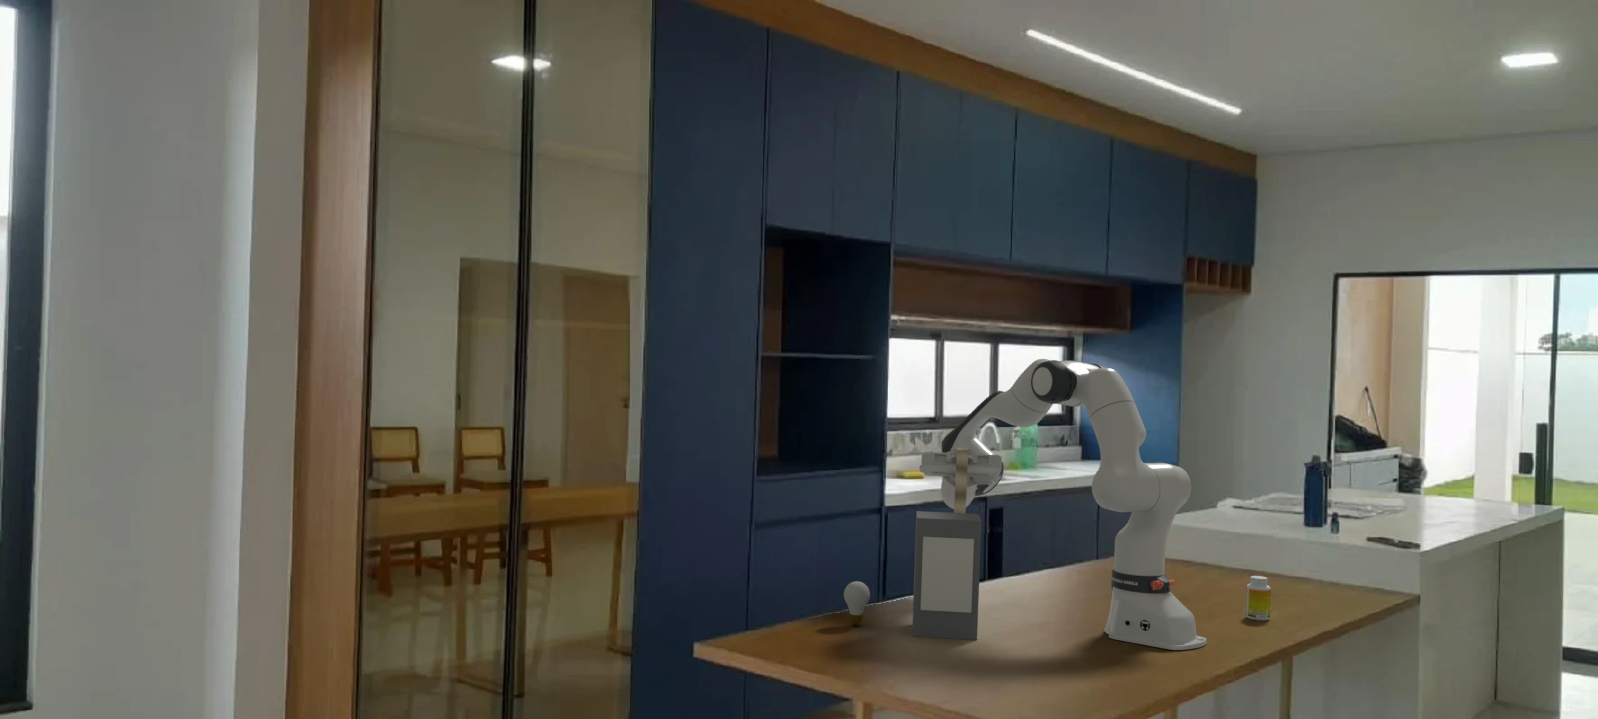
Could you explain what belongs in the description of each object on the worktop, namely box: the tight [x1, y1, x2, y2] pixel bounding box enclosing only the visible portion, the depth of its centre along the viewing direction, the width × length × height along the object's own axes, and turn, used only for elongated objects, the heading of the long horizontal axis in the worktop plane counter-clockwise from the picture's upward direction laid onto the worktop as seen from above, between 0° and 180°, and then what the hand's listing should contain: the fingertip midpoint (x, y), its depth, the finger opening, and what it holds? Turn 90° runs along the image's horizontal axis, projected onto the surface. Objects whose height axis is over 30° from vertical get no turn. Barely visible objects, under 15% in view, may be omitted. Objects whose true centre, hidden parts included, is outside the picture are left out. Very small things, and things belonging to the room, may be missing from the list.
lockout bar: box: [953, 448, 968, 513], centre depth 301 cm, size 22×4×4 cm
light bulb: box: [843, 580, 871, 627], centre depth 272 cm, size 6×6×10 cm
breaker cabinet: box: [911, 510, 982, 641], centre depth 268 cm, size 13×14×26 cm
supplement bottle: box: [1245, 575, 1272, 622], centre depth 296 cm, size 6×6×10 cm
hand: (962, 451), depth 299 cm, fingers closed on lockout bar, 3 cm apart
